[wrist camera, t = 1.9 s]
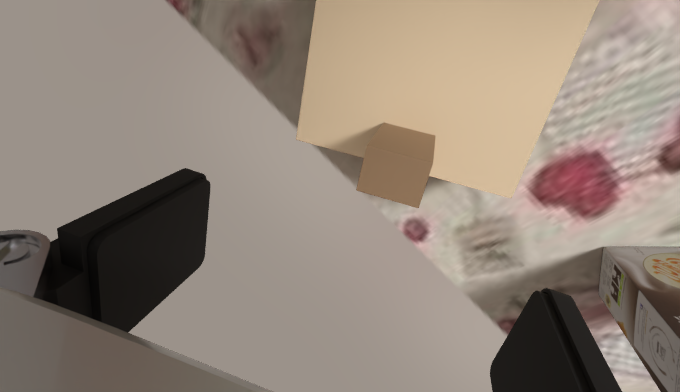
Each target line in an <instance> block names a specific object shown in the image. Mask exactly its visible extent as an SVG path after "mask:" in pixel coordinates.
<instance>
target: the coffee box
mask: <svg viewBox="0 0 680 392" xmlns="http://www.w3.org/2000/svg"><path fill="white" fill-rule="evenodd" d="M599 296H600V298H601V299H602V300H603V302H604V303H605V305H606V306H607V308H608V309H609V311H610V313H611V314H612V316H613V318H614V319H615V320H616V322H617V324H618V325H619V327H620V328H621V330H622V331H623V333H624V334H625V336H626V338H627V339H628V341H629V342H630V344H631V346H632V347H633V349H634V350H635V352H636V353H637V355H638V356H639V358H640V360H641V361H642V363H643V364H644V366H645V367H646V369H647V371H648V372H649V374H650V375H651V377H652V378H653V380H654V382H655V383H656V385H657V386H658V388H659V389H660V391H661V392H680V247H605V248H604V249H603V255H602V264H601V273H600V283H599Z"/></svg>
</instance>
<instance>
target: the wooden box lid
mask: <svg viewBox="0 0 680 392" xmlns="http://www.w3.org/2000/svg"><path fill="white" fill-rule="evenodd" d="M598 2H599V0H316V5H315V12H314V19H313V25H312V32H311V39H310V46H309V53H308V60H307V67H306V74H305V81H304V88H303V95H302V102H301V108H300V115H299V122H298V129H297V136H296V140H299V141H303V142H306V143H310V144H314V145H317V146H321V147H325V148H328V149H332V150H336V151H339V152H343V153H347V154H350V155H354V156H358V157H361V158H364V159H363V164H362V168H361V172H360V176H359V181H358V185H357V189H356V190H357V191H361V192H364V193H367V194H371V195H374V196H378V197H381V198H385V199H388V200H392V201H395V202H399V203H402V204H406V205H409V206H413V207H416V208H419V205H420V202H421V199H422V196H423V193H424V190H425V187H426V184H427V180H428V177H429V176H431V177H435V178H438V179H442V180H446V181H449V182H453V183H457V184H460V185H464V186H468V187H471V188H475V189H479V190H482V191H486V192H490V193H493V194H497V195H501V196H504V197H508V198H512V196H513V194H514V191H515V189H516V187H517V185H518V182H519V180H520V178H521V176H522V173H523V171H524V169H525V167H526V164H527V162H528V160H529V158H530V155H531V153H532V151H533V149H534V146H535V144H536V142H537V140H538V137H539V135H540V133H541V131H542V128H543V126H544V124H545V122H546V119H547V117H548V115H549V113H550V110H551V108H552V106H553V104H554V101H555V99H556V97H557V95H558V92H559V90H560V88H561V86H562V83H563V81H564V79H565V77H566V74H567V72H568V70H569V68H570V65H571V63H572V61H573V59H574V56H575V54H576V52H577V50H578V47H579V45H580V43H581V41H582V38H583V36H584V34H585V32H586V29H587V27H588V25H589V23H590V20H591V18H592V16H593V14H594V11H595V9H596V7H597V5H598Z"/></svg>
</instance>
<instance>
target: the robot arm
mask: <svg viewBox="0 0 680 392" xmlns="http://www.w3.org/2000/svg"><path fill="white" fill-rule="evenodd" d="M209 197H210V182H209V181H207V180H206V176H205V175H204V174H202V173H199V172H195V171H193V170H190V169H186V168H185V169H182V170H179V171H177V172H175V173H173V174H171V175H169V176H167V177H165V178H163V179H160V180H158V181H156V182H154V183H152V184H150V185H148V186H146V187H144V188H141V189H139V190H137V191H135V192H133V193H131V194H129V195H127V196H125V197H122V198H120V199H118V200H116V201H114V202H112V203H110V204H108V205H106V206H103V207H101V208H99V209H97V210H95V211H93V212H91V213H89V214H87V215H84V216H82V217H80V218H78V219H76V220H74V221H72V222H70V223H68V224H66V225H63V226H61V227H59V228H57V231H58V239H56V240H54V241H52V242H50V240H49V239H48V238H47V236H45V235H43V234H41V233H39V232H35V231H30V230H8V231H0V392H273V391H270V390H268V389H265V388H263V387H260V386H258V385H256V384H253V383H251V382H248V381H246V380H243V379H241V378H238V377H236V376H233V375H231V374H229V373H226V372H223V371H221V370H219V369H217V368H214V367H212V366H209V365H207V364H204V363H202V362H199V361H197V360H194V359H192V358H189V357H187V356H184V355H182V354H179V353H177V352H174V351H172V350H169V349H167V348H164V347H162V346H159V345H157V344H155V343H152V342H150V341H147V340H145V339H142V338H139V337H137V336H134V335H132V334H130V333H128V332H129V331H130V330H131V329H132V328H133V327H135V326H136V325H137V324H138V323H139V322H140V321H141V320H142V319H143V318H144V317H145V316H147V315H148V314H149V313H150V312H151V311H152V310H153V309H154V308H155V307H156V306H157V305H159V304H160V303H161V302H162V301H163V300H164V299H165V298H166V297H167V296H168V295H169V294H171V293H172V291H174V290H175V289H176V288H177V287H178V286H179V285H180V284H182V283H183V282H184V281H185V280H186V279H187V278H188V277H189V276H190V275H191V274H192V273H193V272H195V271H196V270H197V269H198V268H199V267H200V266H201V264H202V262H203V260H204V257H205V246H206V234H207V222H208V221H207V220H208V210H209V209H208V208H209ZM490 377H491V384H492V390H493V392H622V391H621V389H620V387H619V385H618V383H617V381H616V379H615V378H614V376H613V374H612V372H611V370H610V368H609V366H608V364H607V363H606V361H605V359H604V357H603V355H602V353H601V351H600V349H599V347H598V346H597V344H596V342H595V340H594V338H593V336H592V334H591V332H590V330H589V329H588V327H587V325H586V323H585V321H584V319H583V317H582V315H581V314H580V312H579V310H578V308H577V306H576V304H575V302H574V300H573V299H572V297H571V296H569V295H566V294H563V293H560V292H557V291H554V290H551V289H548V288H545V289H543V290H542V291H541V292H539V291H535V292H534V293H533V294H532V295H531V297H530V299H529V300H528V302H527V304H526V306H525V307H524V309H523V311H522V312H521V314H520V316H519V317H518V319H517V321H516V323H515V324H514V326H513V328H512V329H511V331H510V333H509V335H508V336H507V338H506V340H505V341H504V343H503V345H502V346H501V348H500V350H499V352H498V353H497V355H496V357H495V358H494V360H493V362H492V365H491V369H490Z"/></svg>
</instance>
